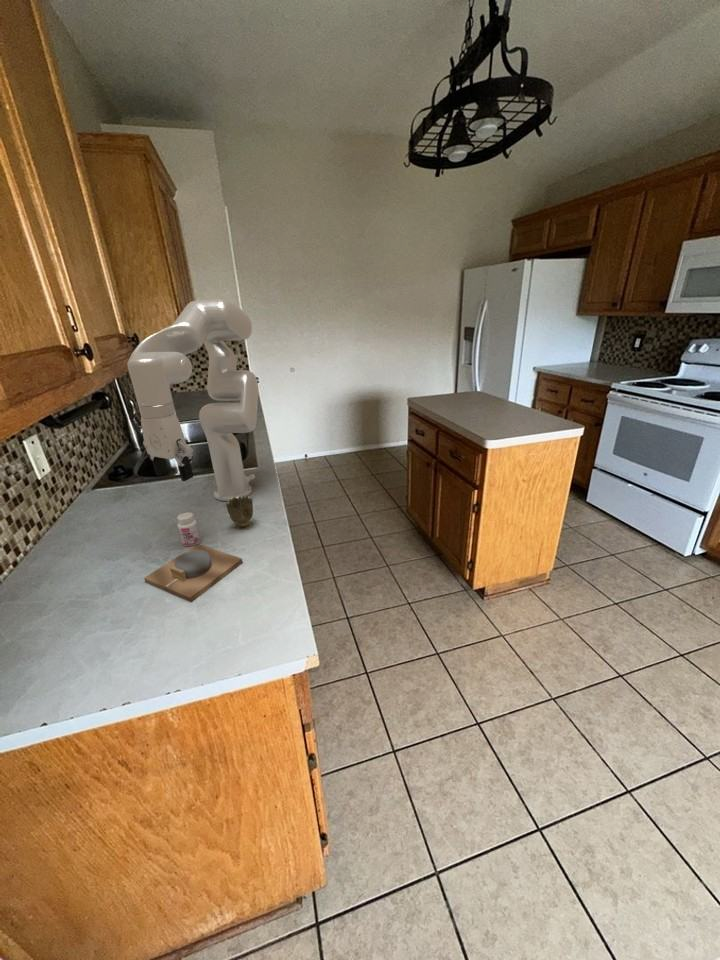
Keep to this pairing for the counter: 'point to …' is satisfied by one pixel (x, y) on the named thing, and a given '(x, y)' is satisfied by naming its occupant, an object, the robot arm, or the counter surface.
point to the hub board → (198, 582)
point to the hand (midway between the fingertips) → (174, 476)
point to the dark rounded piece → (240, 510)
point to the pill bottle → (188, 529)
